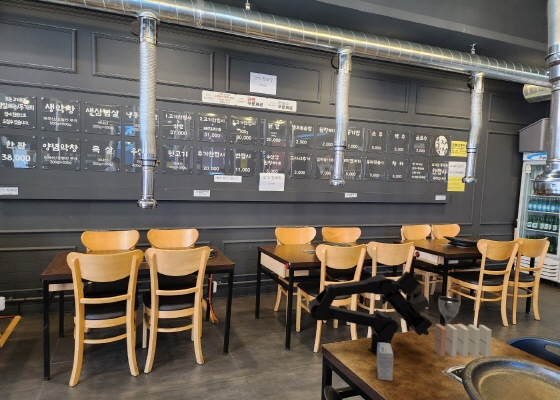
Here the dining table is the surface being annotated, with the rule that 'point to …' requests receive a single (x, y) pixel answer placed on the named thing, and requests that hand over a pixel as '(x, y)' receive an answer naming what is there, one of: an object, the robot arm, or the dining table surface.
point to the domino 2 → (451, 340)
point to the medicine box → (384, 361)
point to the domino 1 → (440, 340)
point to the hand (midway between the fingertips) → (427, 334)
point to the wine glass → (448, 307)
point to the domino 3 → (462, 340)
